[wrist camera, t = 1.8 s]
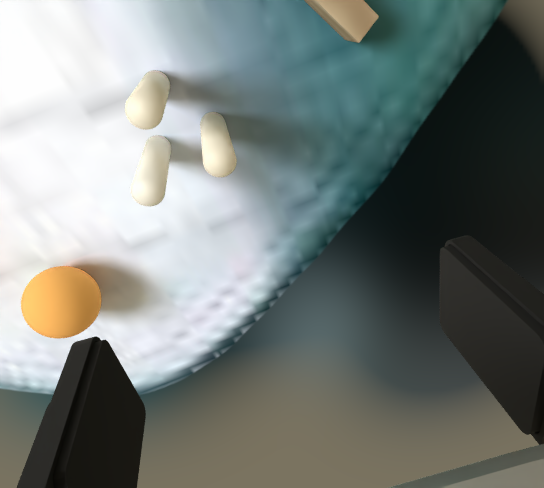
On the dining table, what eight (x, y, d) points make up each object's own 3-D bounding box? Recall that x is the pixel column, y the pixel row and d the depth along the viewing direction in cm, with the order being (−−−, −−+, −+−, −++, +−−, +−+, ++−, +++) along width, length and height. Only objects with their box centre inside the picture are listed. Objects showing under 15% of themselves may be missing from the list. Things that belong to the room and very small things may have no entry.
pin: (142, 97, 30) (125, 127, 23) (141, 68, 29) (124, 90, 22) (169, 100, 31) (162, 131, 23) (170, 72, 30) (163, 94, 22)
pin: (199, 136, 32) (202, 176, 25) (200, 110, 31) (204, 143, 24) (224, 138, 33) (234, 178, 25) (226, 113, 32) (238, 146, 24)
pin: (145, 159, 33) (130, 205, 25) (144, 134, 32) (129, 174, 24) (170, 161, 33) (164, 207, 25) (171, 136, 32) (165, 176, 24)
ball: (39, 307, 38) (16, 354, 33) (30, 251, 35) (2, 293, 30) (108, 307, 39) (96, 353, 34) (105, 254, 36) (91, 294, 31)
